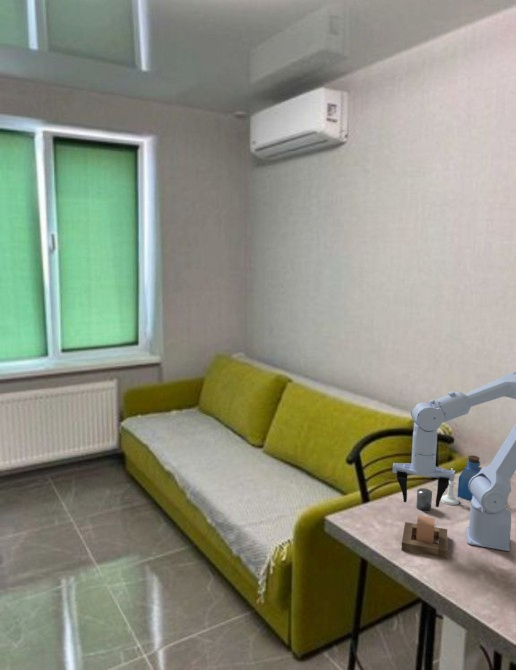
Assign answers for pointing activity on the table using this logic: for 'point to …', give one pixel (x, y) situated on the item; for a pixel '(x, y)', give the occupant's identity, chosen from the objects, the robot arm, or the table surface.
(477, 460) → the perfume bottle
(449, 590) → the table surface
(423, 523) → the terracotta block
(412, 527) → the walnut collar
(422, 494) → the metal cylinder
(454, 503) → the chess piece
